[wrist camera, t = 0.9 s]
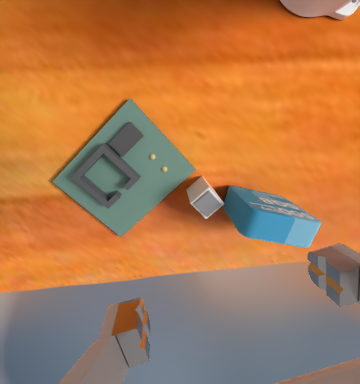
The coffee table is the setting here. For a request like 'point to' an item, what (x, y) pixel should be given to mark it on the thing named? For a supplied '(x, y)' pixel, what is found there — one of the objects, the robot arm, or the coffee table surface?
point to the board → (124, 170)
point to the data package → (269, 217)
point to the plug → (204, 197)
